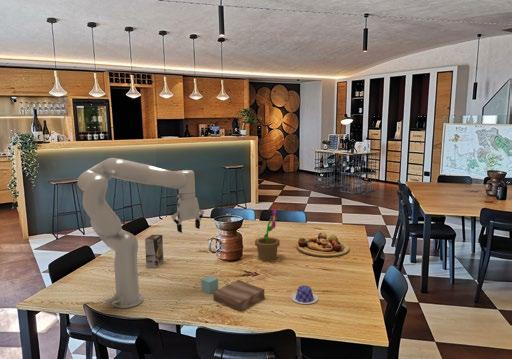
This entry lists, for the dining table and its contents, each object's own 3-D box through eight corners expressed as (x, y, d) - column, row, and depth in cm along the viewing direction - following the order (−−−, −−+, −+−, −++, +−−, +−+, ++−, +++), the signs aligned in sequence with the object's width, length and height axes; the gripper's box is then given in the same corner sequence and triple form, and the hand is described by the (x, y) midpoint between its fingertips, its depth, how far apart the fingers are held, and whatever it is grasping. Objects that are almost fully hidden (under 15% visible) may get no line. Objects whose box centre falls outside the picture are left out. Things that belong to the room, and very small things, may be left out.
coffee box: (156, 268, 204) (155, 239, 202) (146, 267, 206) (144, 238, 203) (164, 262, 213) (162, 234, 211) (153, 261, 214) (152, 233, 212)
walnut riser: (239, 311, 157) (239, 302, 156) (213, 300, 167) (213, 291, 166) (264, 297, 169) (264, 289, 168) (238, 287, 179) (238, 279, 178)
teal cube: (209, 293, 174) (209, 282, 173) (201, 290, 177) (201, 279, 176) (218, 289, 178) (217, 278, 177) (210, 286, 181) (210, 275, 180)
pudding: (285, 299, 168) (285, 287, 167) (302, 290, 176) (302, 279, 175) (306, 308, 159) (306, 296, 159) (323, 298, 168) (323, 287, 167)
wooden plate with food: (292, 256, 221) (293, 242, 219) (299, 239, 251) (300, 227, 250) (349, 261, 213) (349, 247, 212) (349, 243, 244) (349, 230, 243)
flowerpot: (276, 264, 208) (275, 211, 204) (251, 261, 213) (250, 209, 208) (282, 255, 222) (282, 205, 217) (259, 252, 226) (259, 203, 222)
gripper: (174, 199, 174) (176, 235, 176) (206, 194, 184) (208, 228, 187) (167, 197, 179) (169, 231, 182) (199, 192, 190) (200, 225, 193)
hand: (188, 230), depth 184 cm, fingers open, 9 cm apart
